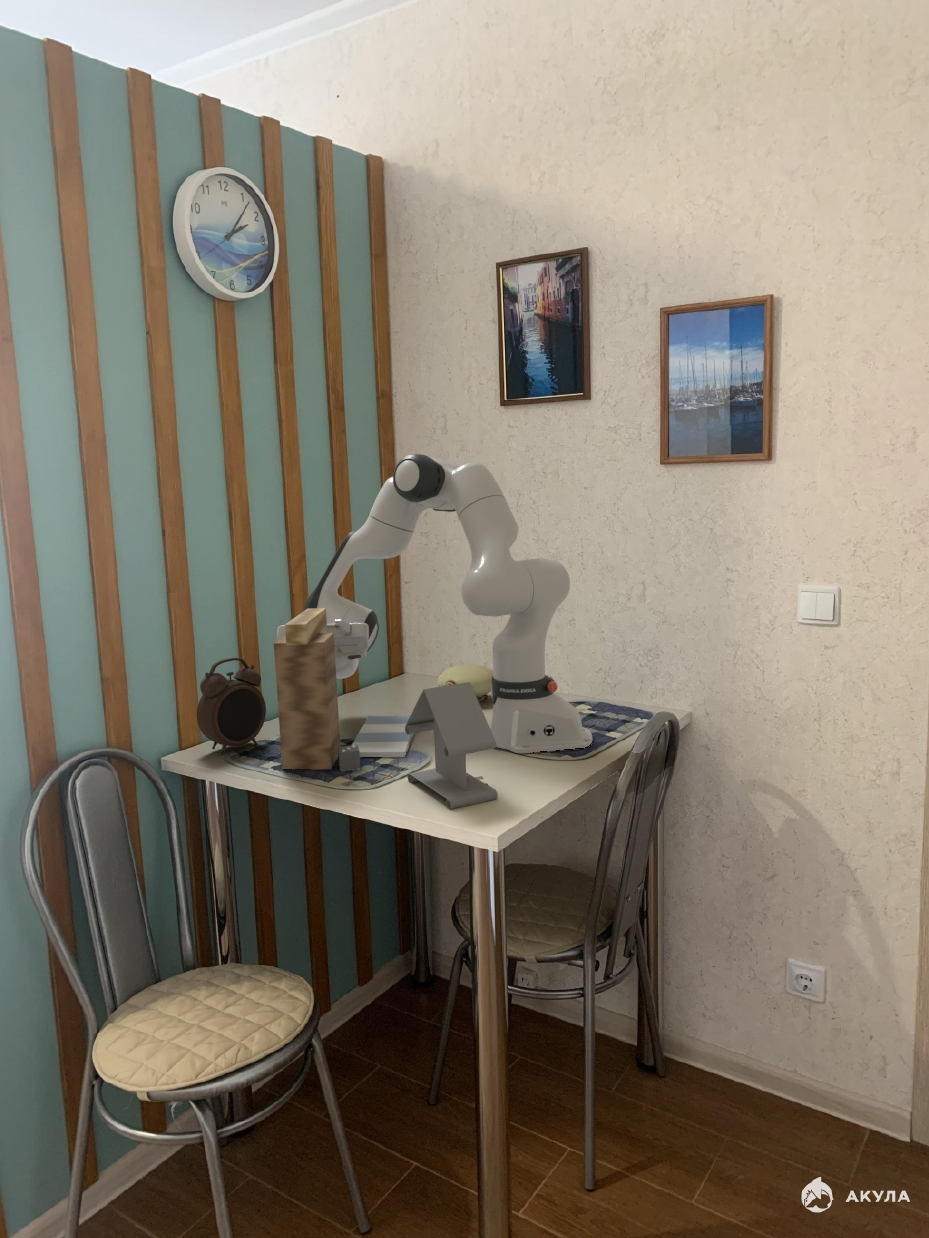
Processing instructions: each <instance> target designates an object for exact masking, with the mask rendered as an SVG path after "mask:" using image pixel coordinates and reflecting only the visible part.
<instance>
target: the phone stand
mask: <svg viewBox="0 0 929 1238" xmlns="http://www.w3.org/2000/svg"><path fill="white" fill-rule="evenodd" d="M410 715H411V716H410V718H409V720H408V722H407V724H406V726H405V732H406V734H407V735H409V734H419V733H424V732H425V733H426V732H430V731H431V732H432V731H433V737H434V738H433V740H434V762H435V763H434V764H435V768H430V769H424V770H421V771H415V772H409V773H407V781H408V783H410V784H413V783H417V782H421V784H423V785H425V786H426V787H428V788H430V789H431V790H432V791H434V792H435V793H437V794H439V795H440V796H442V797H443V798H444V799H446V800H445V806H446V808H447V809H449V810H453V809H457V808H462V807H466V806H471V805H474V804H480V803H484V802H488V801H493V800H497V799H498V791H497V790H496V788H494V787H492V786H490V785H488V784H487V783H485V782H483V781H481V780H480V779H479V778H476V776H473V775H471V774H470V773H468V772H467V759H466V758H467V757H466V755H467V754H472V753H477V752H482V751H487V750H492V749H495V748H497V747H496V741H495V739H494V736H493V734H492V732H491V726H490V725H489V722H488V720H487V719H486V716H485V713H484V711H483V708H482V706H481V704H480V702H478V697H476V695H475V693H474V690H473V688H472V686H471V683H470V682H467V683H461V684H454V685H448V686H442V687H438V686H437V687H431V688H430V687H429V688H424V689H423V690H422V692H421V694H420V696H419V697H418V700H417V701H416V704H415V705H414V708H413V710H412V712H411V714H410Z"/></svg>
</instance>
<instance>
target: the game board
mask: <svg viewBox="0 0 929 1238" xmlns="http://www.w3.org/2000/svg"><path fill="white" fill-rule="evenodd" d="M410 716H411V714H410V715H409V714H408V715H407V714H405V715H403V714H402V715H368V716H367V718H366V720H365V721H364V723H363V725H362V726H361V728H360V730H359V731H358V733H357V735H356V737H355V739H354V741H353V742H352V743H351V745H350V746H353V745H358V748H359V751H360V757H382V758H406V756H407V753H408V751H409V748H410V745H411V743H412V740H413V736H414V734H409V735H407V734H406V732H405V726H406V724H407V722H408V720H409V718H410ZM406 752H407V753H406ZM405 755H406V756H405Z"/></svg>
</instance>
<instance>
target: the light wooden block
mask: <svg viewBox="0 0 929 1238" xmlns="http://www.w3.org/2000/svg"><path fill="white" fill-rule="evenodd" d="M284 625H285V635H286V645H307V644H308V643H309V642H310V641H311V640H312V639H313V638H314V637H316V636H317V635H318V634H319V633H320V632H321V631H322V630H324V629H325V628H326V627H327V617H326V608H310V609H306V610H305V611H303V610H302V612H300V613H299V614H298V615H297V616H295V617H293V618H292V619H291V620H290V621H288V622H286V623H285V624H284Z"/></svg>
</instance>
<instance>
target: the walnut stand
mask: <svg viewBox="0 0 929 1238" xmlns="http://www.w3.org/2000/svg"><path fill="white" fill-rule="evenodd" d="M273 651H274V667H275V668H274V669H275V681H276V696H277V710H278V723H279V724H278V725H279V726H278V727H279V740H280V753H281V767H282V770H283V769H292V770H291V771H293V769H294V770H295V769H311V770H327V769H326V768H332V766H333V764H334V763H335V761H336V760H337V761H338V759H339V758H338V757H339V755H338V747H341V733H340V732H341V731H340V717H339V701H338V685H337V684H338V683H337V678H336V664H335V647H334V633H319V634H318V635H317V636H316V637H314V638H313V639H312V640H311V641H310V642H309V643H308V644H307V645H286V635H284V636H283V637H281V638H280V639H279V640H277V639H276V641H274V643H273ZM337 758H338V759H337ZM337 761H336V762H337ZM335 764H336V763H335ZM335 764H334V765H335ZM333 767H334V766H333ZM323 768H324V769H323ZM332 769H333V768H332Z"/></svg>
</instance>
